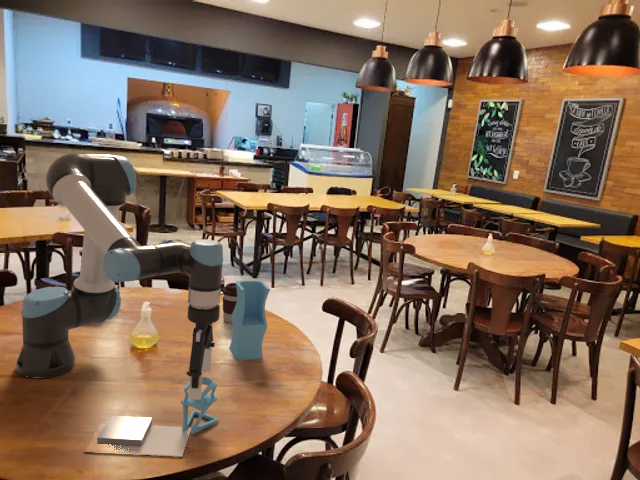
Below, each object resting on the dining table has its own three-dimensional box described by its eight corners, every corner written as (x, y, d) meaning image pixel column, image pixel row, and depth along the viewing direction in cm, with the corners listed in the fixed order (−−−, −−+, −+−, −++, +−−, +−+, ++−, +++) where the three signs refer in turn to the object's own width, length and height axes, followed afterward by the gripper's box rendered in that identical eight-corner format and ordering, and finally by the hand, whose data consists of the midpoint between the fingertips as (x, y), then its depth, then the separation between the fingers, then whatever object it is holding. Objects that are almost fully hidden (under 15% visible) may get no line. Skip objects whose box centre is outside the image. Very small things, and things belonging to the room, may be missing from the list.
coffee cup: (249, 320, 192) (252, 285, 189) (233, 327, 184) (235, 291, 180) (231, 314, 197) (234, 279, 194) (214, 320, 189) (217, 284, 185)
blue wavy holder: (235, 360, 157) (241, 289, 152) (229, 348, 166) (234, 280, 161) (264, 358, 161) (270, 288, 156) (256, 345, 170) (261, 279, 165)
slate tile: (111, 421, 118) (97, 444, 109) (111, 415, 118) (97, 437, 109) (152, 423, 119) (141, 446, 110) (152, 417, 119) (141, 440, 110)
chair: (174, 427, 118) (178, 383, 116) (193, 413, 126) (197, 371, 124) (200, 437, 116) (204, 391, 114) (218, 421, 123) (223, 379, 122)
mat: (83, 452, 107) (83, 451, 107) (102, 423, 117) (102, 422, 117) (182, 457, 109) (182, 456, 109) (191, 428, 119) (191, 427, 119)
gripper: (211, 324, 102) (207, 412, 106) (226, 289, 127) (222, 362, 131) (176, 322, 102) (173, 411, 106) (198, 287, 126) (194, 360, 130)
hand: (200, 384), depth 118 cm, fingers open, 13 cm apart
